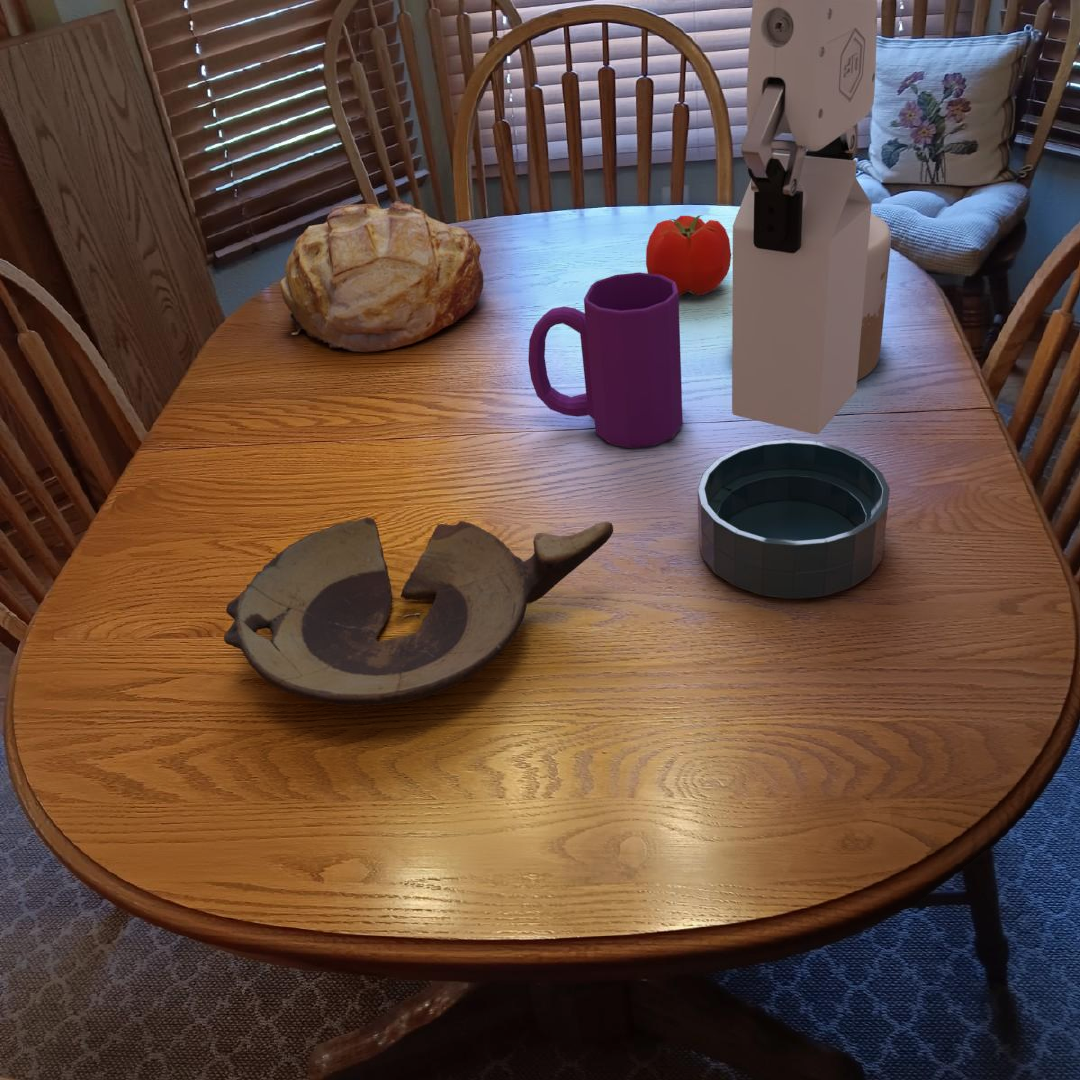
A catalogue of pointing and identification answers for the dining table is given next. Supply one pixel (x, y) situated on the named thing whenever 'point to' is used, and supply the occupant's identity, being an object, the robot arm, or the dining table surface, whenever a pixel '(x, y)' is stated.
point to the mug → (621, 359)
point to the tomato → (689, 253)
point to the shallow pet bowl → (792, 518)
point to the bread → (380, 277)
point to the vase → (874, 295)
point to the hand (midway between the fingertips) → (802, 226)
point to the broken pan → (365, 603)
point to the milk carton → (801, 303)
